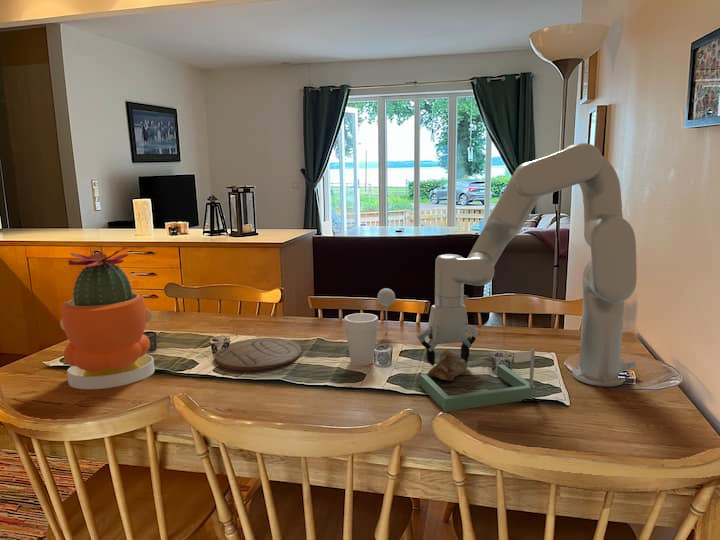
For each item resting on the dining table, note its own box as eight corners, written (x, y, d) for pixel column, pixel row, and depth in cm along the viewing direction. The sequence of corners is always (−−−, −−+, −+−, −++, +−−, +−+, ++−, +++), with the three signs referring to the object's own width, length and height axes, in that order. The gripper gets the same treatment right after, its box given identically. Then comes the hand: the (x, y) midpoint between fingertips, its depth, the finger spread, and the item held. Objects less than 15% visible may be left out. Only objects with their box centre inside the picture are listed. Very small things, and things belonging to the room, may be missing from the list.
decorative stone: (471, 349, 149) (459, 374, 136) (471, 363, 150) (459, 390, 137) (437, 345, 152) (422, 369, 139) (437, 359, 154) (423, 384, 141)
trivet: (240, 380, 144) (239, 373, 144) (201, 356, 163) (200, 350, 163) (317, 358, 160) (317, 352, 160) (273, 338, 179) (273, 332, 179)
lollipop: (375, 330, 184) (374, 287, 181) (391, 328, 186) (391, 285, 183) (381, 335, 178) (380, 291, 175) (398, 333, 180) (397, 289, 177)
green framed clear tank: (502, 375, 144) (503, 331, 141) (535, 398, 129) (537, 350, 127) (420, 385, 138) (420, 340, 136) (445, 411, 123) (445, 361, 121)
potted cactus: (71, 371, 152) (56, 247, 146) (156, 360, 160) (145, 241, 153) (60, 401, 132) (41, 259, 126) (157, 387, 140) (144, 252, 133)
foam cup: (375, 368, 150) (374, 323, 147) (342, 366, 152) (341, 321, 149) (380, 356, 159) (380, 313, 157) (349, 355, 161) (348, 312, 158)
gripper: (472, 295, 151) (471, 354, 154) (413, 300, 147) (413, 360, 150) (485, 301, 144) (483, 363, 147) (423, 306, 140) (422, 370, 143)
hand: (447, 361), depth 148 cm, fingers open, 9 cm apart
